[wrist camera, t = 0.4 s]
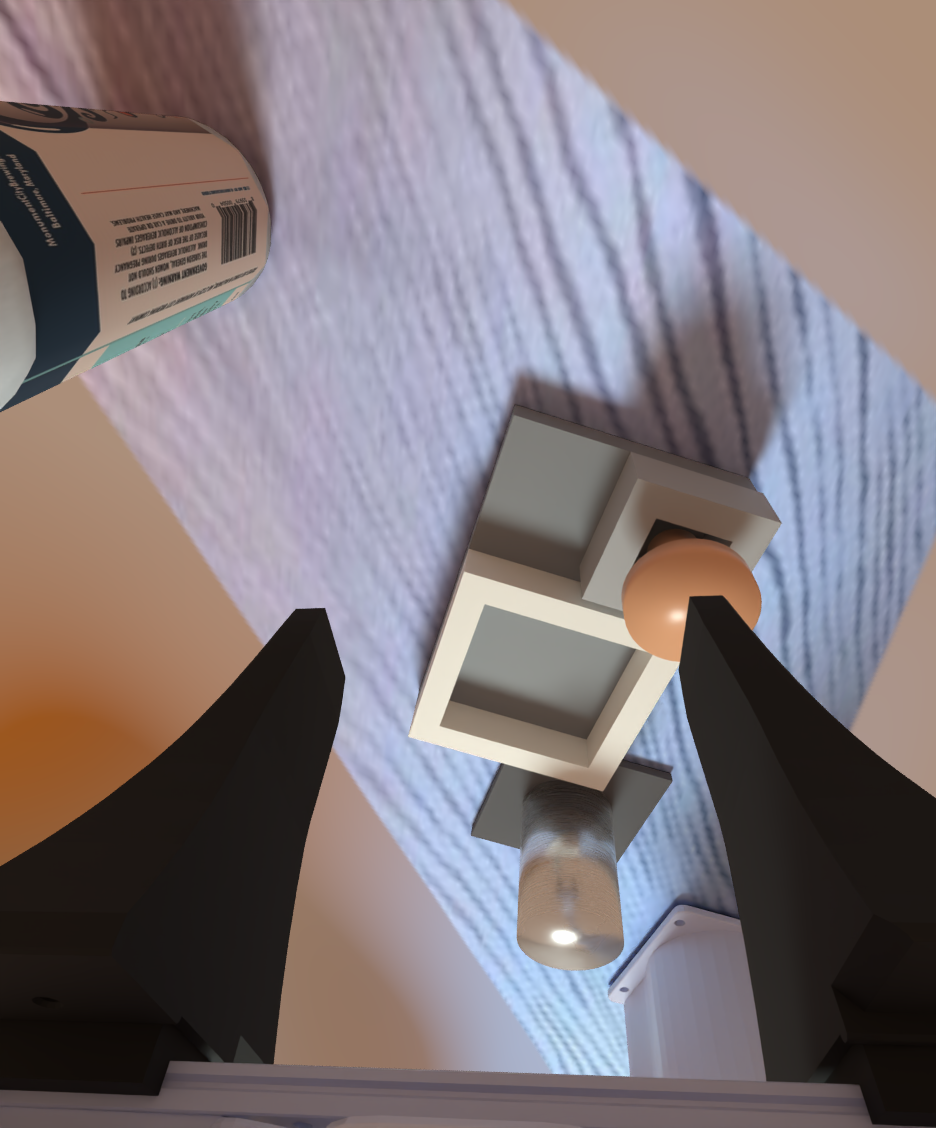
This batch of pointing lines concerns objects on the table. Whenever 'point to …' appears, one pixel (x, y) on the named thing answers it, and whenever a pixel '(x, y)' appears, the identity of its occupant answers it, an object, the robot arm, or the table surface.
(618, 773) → the mat
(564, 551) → the station
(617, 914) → the billet
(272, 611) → the table surface
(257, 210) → the beer can
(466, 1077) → the robot arm
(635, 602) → the button
